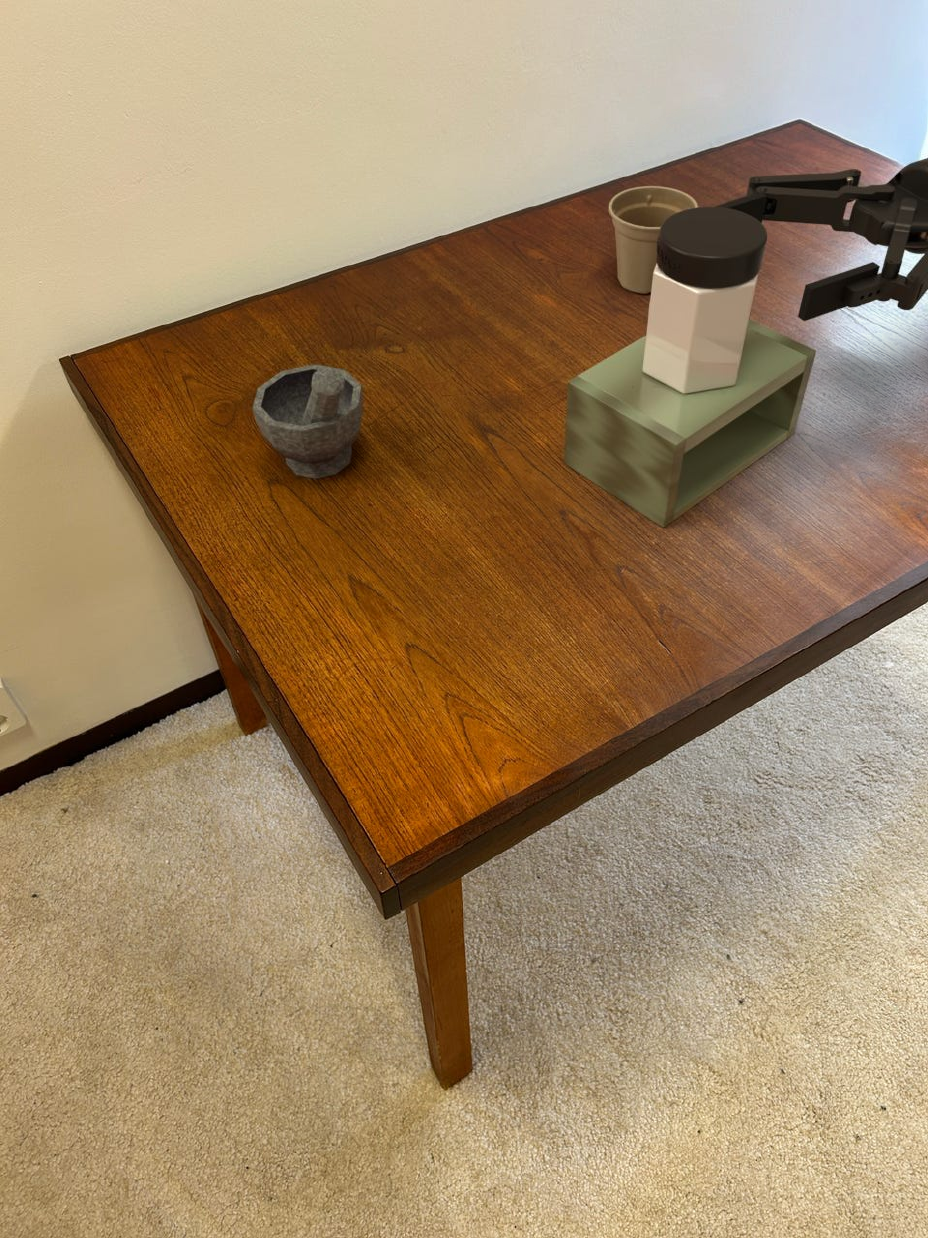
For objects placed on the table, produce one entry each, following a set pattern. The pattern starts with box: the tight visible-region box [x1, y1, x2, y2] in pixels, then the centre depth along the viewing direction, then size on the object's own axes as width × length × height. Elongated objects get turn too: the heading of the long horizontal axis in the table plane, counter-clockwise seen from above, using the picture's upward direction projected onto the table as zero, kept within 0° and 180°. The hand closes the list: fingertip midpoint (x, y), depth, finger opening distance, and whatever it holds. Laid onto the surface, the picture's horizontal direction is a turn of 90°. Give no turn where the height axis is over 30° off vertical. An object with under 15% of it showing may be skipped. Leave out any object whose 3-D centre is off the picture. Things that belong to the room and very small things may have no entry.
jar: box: [642, 206, 768, 394], centre depth 78 cm, size 9×8×12 cm
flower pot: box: [608, 185, 699, 295], centre depth 106 cm, size 9×9×9 cm
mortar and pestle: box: [252, 364, 364, 480], centre depth 86 cm, size 11×9×12 cm
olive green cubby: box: [563, 318, 817, 529], centre depth 86 cm, size 12×18×9 cm, turn 131°
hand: (748, 264), depth 77 cm, fingers open, 13 cm apart
